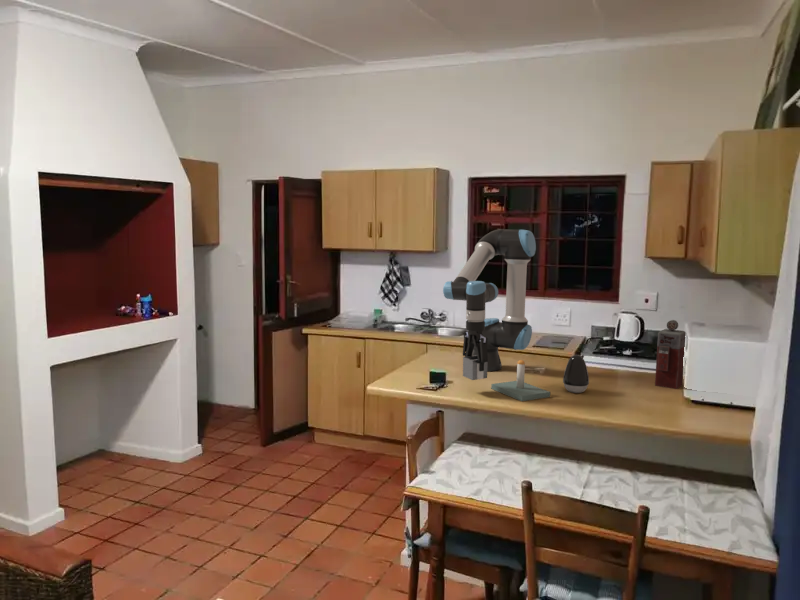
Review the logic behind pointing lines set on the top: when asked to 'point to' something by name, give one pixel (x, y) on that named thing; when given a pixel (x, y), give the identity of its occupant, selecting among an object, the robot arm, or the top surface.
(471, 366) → the grey square sleeve
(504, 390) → the keeper
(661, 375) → the toy vending machine
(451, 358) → the top surface
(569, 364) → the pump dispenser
